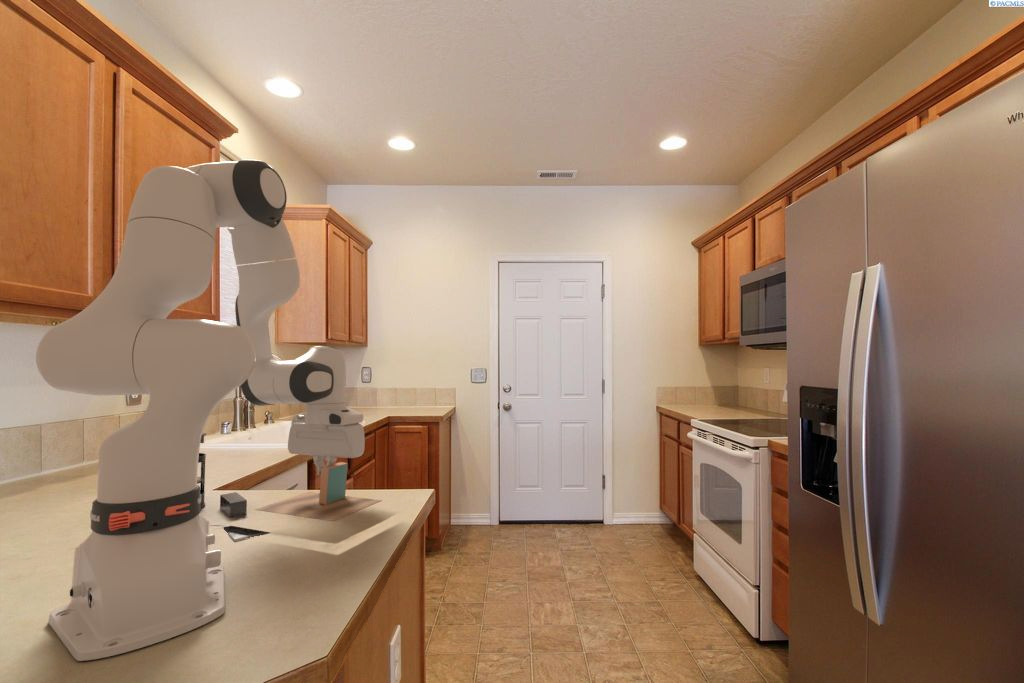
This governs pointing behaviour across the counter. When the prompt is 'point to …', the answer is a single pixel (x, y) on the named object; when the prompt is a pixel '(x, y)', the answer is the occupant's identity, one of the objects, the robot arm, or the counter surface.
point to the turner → (237, 516)
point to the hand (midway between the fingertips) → (324, 475)
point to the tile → (333, 482)
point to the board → (318, 506)
